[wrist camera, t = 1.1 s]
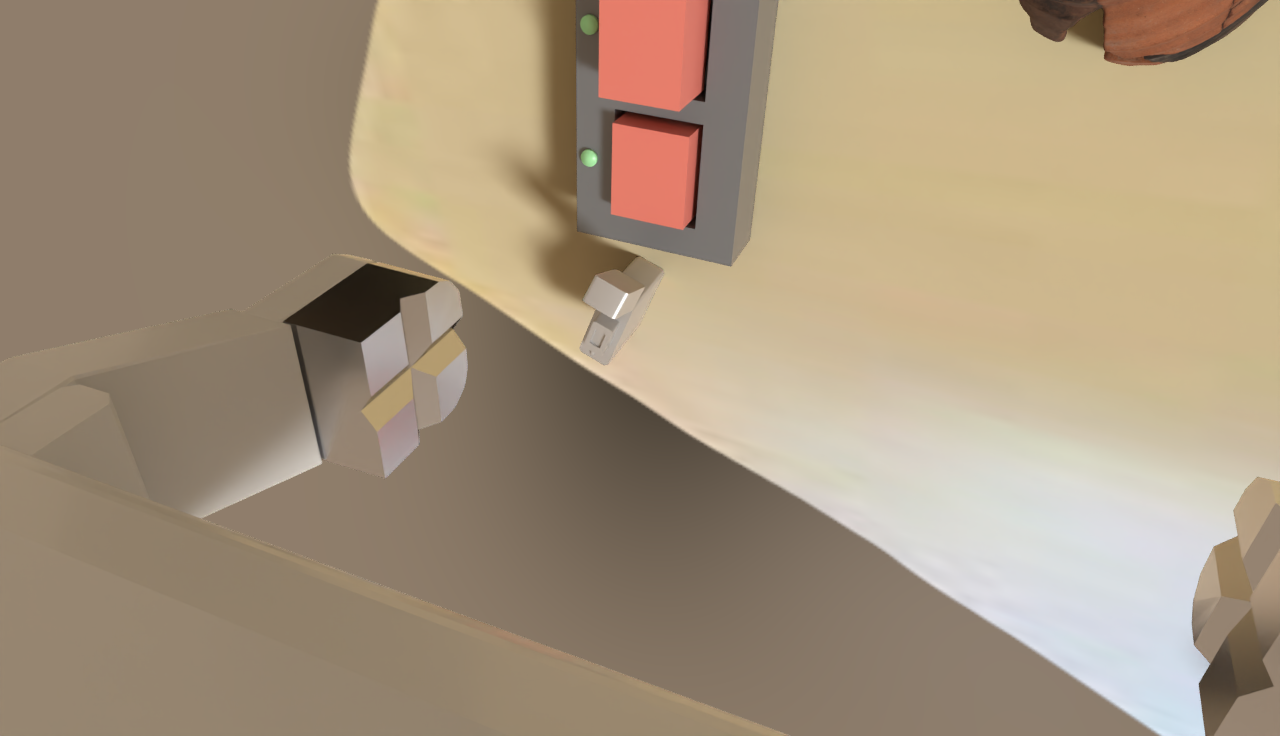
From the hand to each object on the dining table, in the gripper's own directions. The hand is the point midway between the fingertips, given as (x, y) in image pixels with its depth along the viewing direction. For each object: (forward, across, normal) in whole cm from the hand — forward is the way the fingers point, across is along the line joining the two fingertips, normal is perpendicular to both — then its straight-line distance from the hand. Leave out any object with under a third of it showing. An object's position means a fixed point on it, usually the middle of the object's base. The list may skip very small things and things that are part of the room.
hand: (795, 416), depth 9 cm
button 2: (+29, +12, +4) cm, 32 cm away
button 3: (+31, +13, +10) cm, 35 cm away
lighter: (+32, +14, +17) cm, 39 cm away
